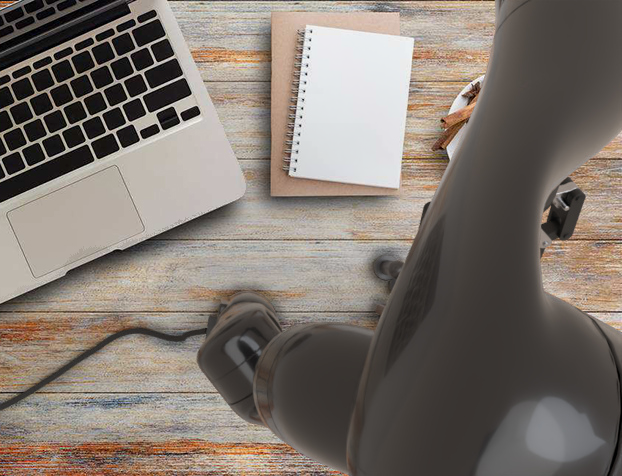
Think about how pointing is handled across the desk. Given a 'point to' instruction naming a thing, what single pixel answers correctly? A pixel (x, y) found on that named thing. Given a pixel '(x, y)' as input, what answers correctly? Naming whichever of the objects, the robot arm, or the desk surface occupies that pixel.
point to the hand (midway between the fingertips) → (482, 273)
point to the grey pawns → (388, 269)
